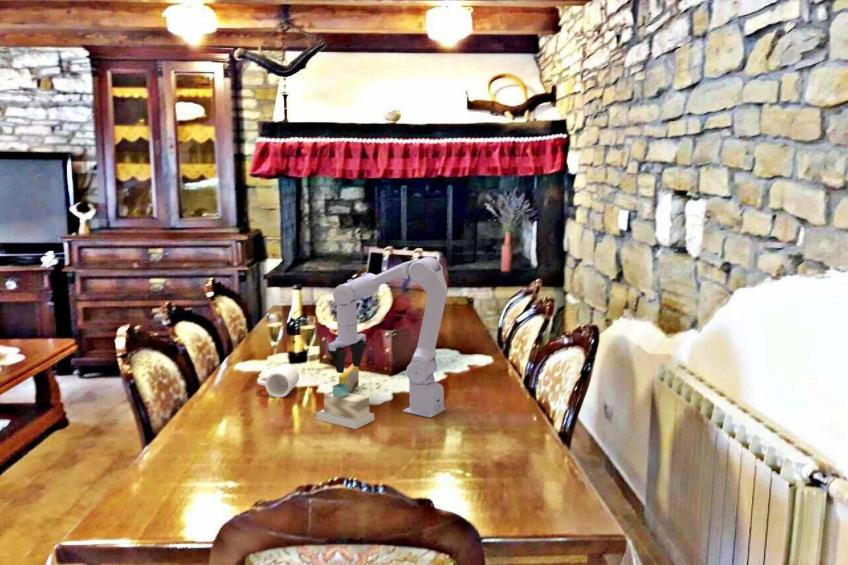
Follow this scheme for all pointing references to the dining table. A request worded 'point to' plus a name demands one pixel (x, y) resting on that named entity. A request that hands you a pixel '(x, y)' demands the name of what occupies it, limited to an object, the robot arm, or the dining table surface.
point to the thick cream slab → (347, 405)
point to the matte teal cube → (340, 390)
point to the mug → (280, 380)
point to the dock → (344, 419)
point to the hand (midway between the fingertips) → (348, 369)
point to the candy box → (350, 378)
